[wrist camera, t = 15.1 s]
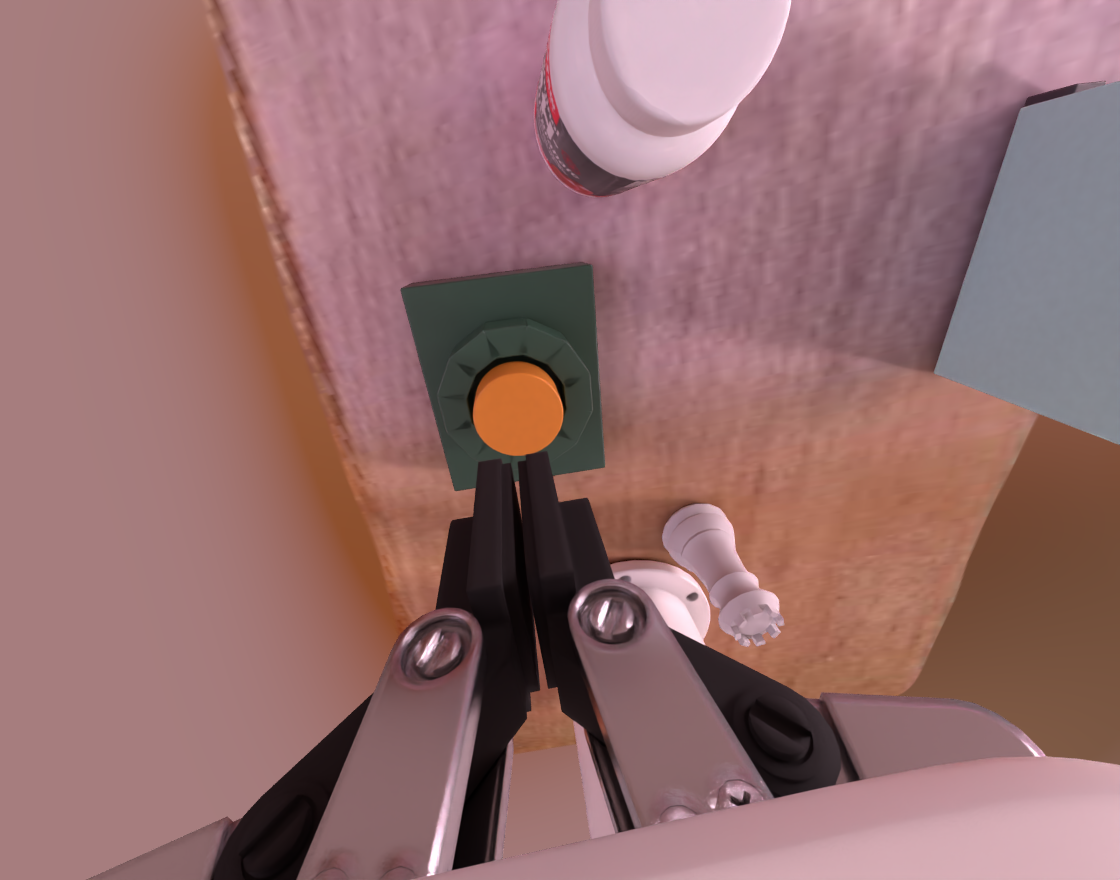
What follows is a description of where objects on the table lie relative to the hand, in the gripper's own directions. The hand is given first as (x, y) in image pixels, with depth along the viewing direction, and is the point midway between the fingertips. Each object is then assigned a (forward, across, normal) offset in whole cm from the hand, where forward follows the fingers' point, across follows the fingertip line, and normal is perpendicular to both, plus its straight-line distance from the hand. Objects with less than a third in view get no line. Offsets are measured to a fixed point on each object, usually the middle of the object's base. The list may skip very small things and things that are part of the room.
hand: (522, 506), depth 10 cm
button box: (+12, 0, 0) cm, 12 cm away
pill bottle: (+12, -5, -10) cm, 16 cm away
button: (+8, 0, 0) cm, 8 cm away
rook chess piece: (+12, -10, +12) cm, 20 cm away
